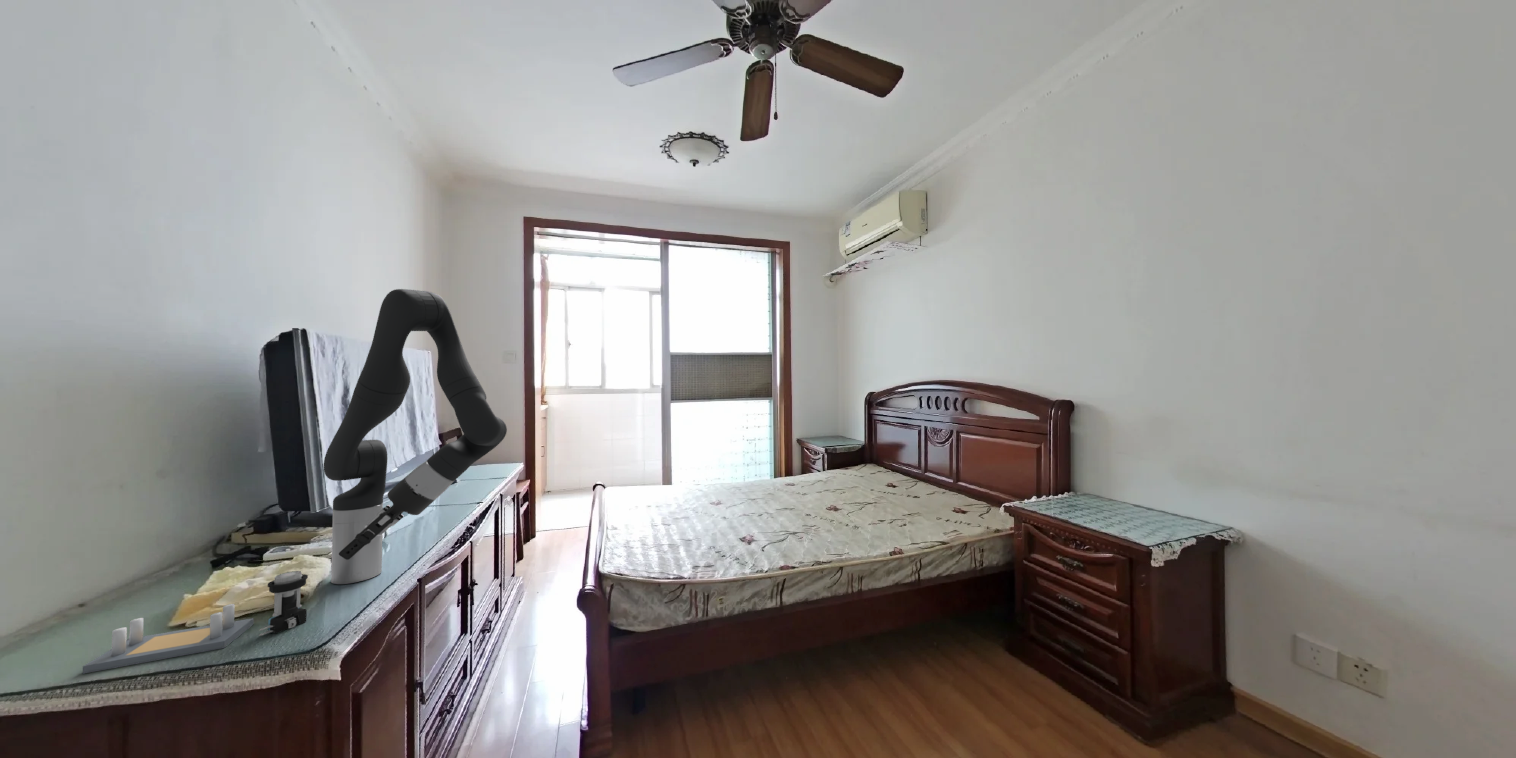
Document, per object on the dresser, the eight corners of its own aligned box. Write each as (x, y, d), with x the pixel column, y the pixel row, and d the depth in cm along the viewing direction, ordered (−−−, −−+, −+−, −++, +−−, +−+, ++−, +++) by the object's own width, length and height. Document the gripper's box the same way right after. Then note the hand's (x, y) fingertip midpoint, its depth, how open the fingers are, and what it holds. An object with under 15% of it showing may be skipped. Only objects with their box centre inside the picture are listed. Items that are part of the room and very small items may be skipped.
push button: (269, 640, 81) (271, 584, 81) (249, 636, 82) (250, 581, 83) (313, 622, 88) (315, 570, 88) (294, 618, 89) (295, 568, 89)
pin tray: (128, 645, 80) (129, 615, 80) (253, 624, 87) (254, 597, 87) (82, 673, 72) (83, 640, 72) (224, 647, 79) (225, 617, 79)
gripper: (415, 470, 101) (347, 529, 95) (397, 481, 88) (318, 549, 82) (443, 491, 103) (379, 550, 97) (430, 505, 90) (355, 573, 85)
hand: (351, 549), depth 90 cm, fingers open, 8 cm apart
